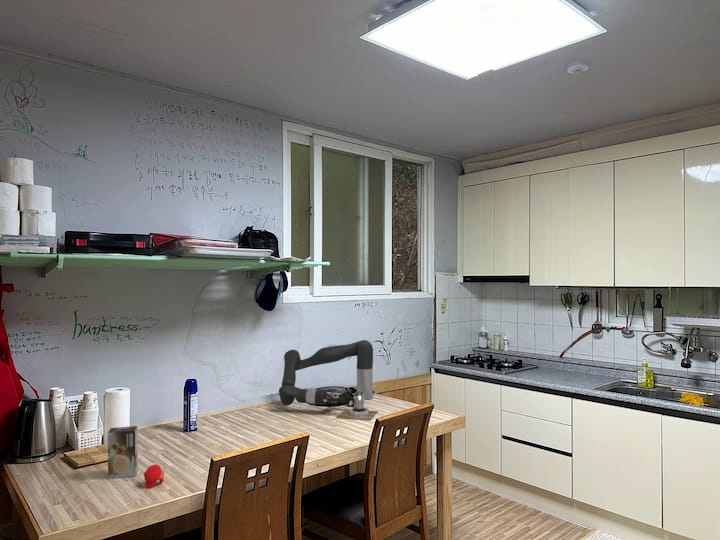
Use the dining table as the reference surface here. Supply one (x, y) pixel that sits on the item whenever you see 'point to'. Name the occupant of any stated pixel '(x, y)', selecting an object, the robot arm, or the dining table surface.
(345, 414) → the board
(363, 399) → the valve
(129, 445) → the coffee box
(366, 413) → the ring
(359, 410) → the cylinder
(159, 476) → the cap
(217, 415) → the dining table surface
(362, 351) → the robot arm
